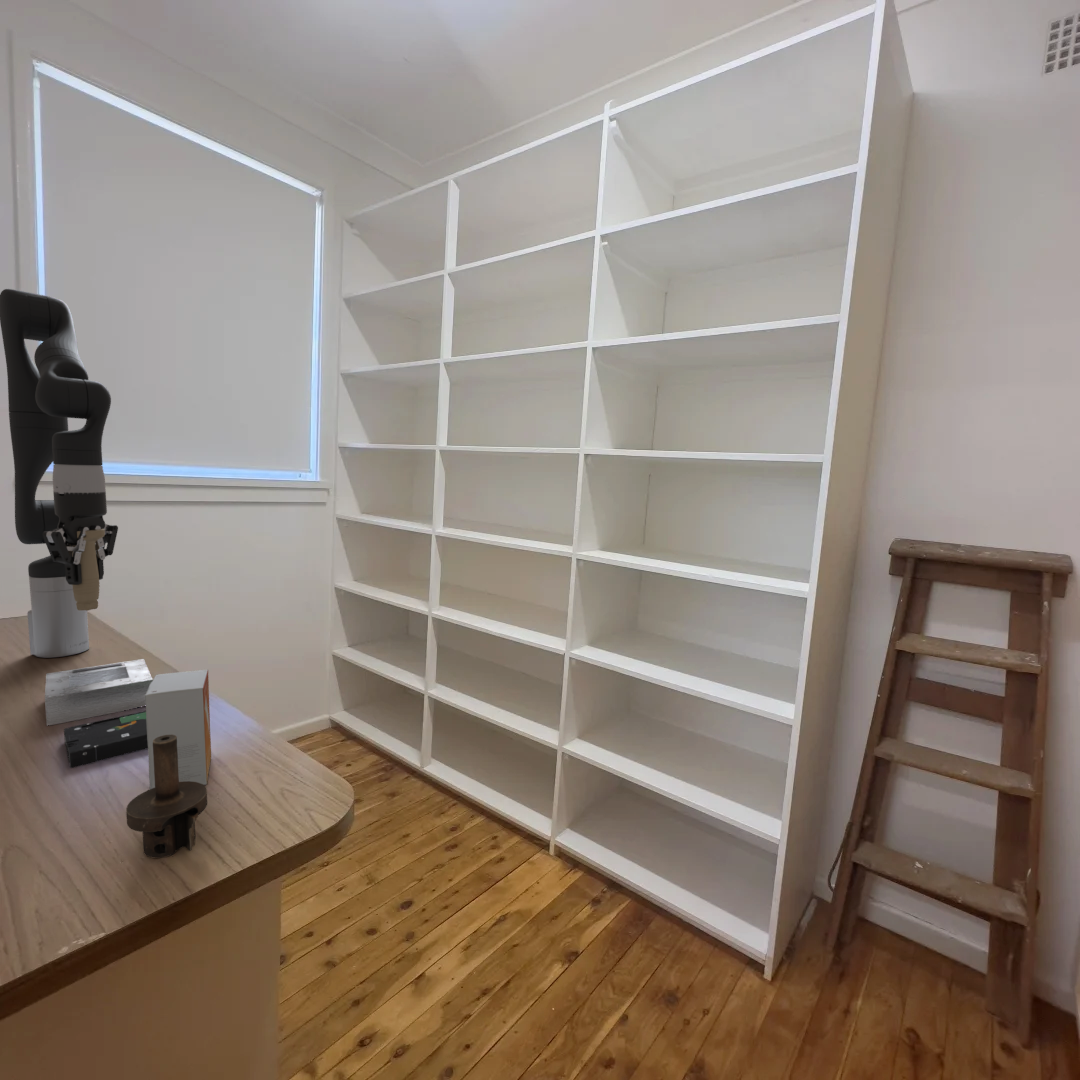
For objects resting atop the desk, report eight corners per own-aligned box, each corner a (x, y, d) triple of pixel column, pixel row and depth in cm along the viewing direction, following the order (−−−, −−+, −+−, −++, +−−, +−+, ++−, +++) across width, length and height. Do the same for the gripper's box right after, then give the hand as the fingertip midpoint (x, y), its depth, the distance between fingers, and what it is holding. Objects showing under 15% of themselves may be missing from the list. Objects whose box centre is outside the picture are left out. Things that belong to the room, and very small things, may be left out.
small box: (208, 785, 74) (203, 687, 72) (148, 796, 71) (143, 694, 69) (212, 757, 81) (208, 667, 79) (159, 766, 78) (154, 673, 77)
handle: (109, 609, 108) (105, 530, 106) (65, 614, 104) (60, 531, 102) (107, 604, 112) (103, 528, 110) (65, 608, 108) (60, 529, 106)
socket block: (46, 726, 90) (44, 697, 89) (48, 698, 100) (46, 672, 100) (154, 704, 98) (152, 678, 98) (144, 681, 109) (143, 657, 109)
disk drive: (70, 773, 77) (196, 739, 87) (68, 753, 77) (194, 721, 87) (63, 746, 85) (180, 717, 95) (62, 728, 84) (178, 701, 94)
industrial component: (221, 844, 62) (216, 738, 61) (143, 879, 57) (136, 763, 55) (187, 811, 68) (182, 713, 67) (114, 840, 62) (107, 734, 61)
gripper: (94, 488, 113) (99, 574, 115) (23, 490, 98) (30, 588, 101) (130, 489, 112) (134, 576, 114) (63, 491, 98) (69, 590, 100)
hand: (85, 581), depth 107 cm, fingers closed on handle, 4 cm apart
